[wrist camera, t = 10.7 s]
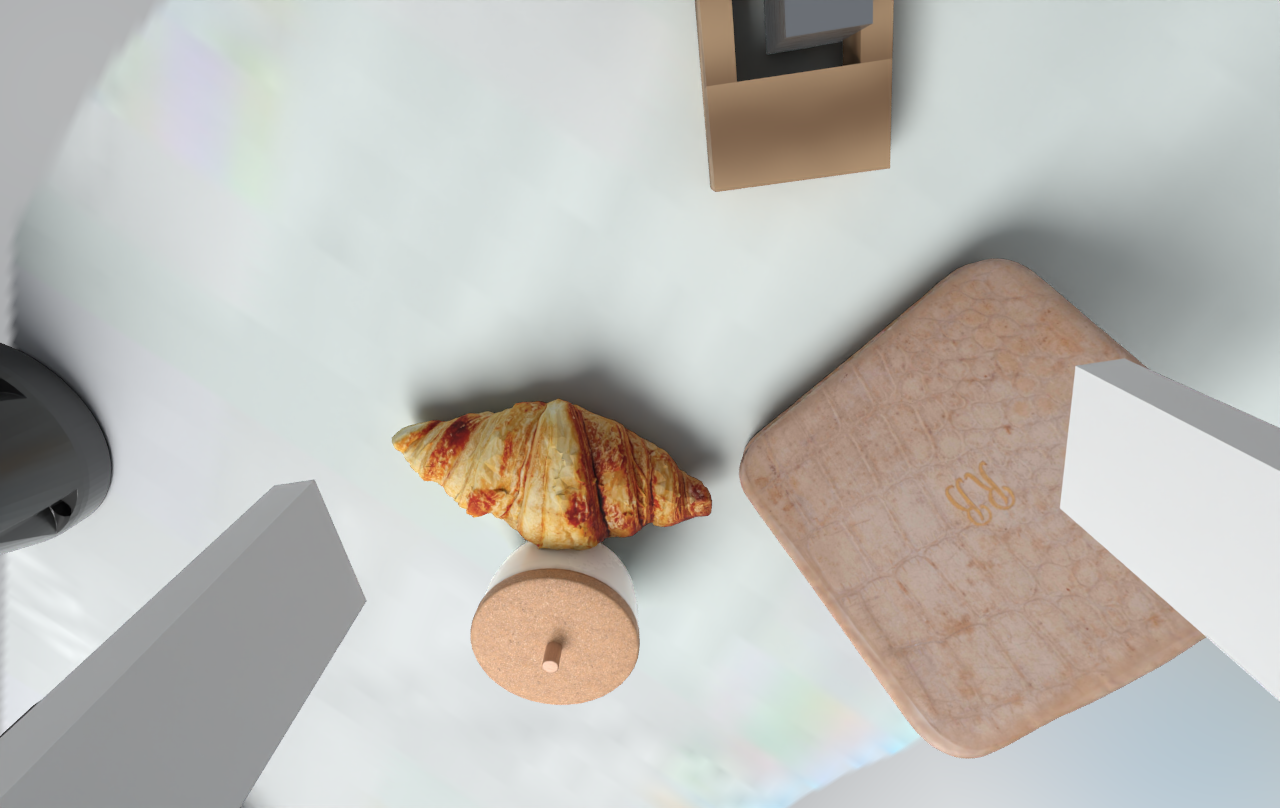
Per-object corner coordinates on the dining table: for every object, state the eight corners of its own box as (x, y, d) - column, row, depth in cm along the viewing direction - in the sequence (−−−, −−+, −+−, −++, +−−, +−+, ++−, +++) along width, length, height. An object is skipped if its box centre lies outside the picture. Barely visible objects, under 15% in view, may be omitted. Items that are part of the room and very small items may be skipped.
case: (978, 230, 36) (1192, 292, 21) (1154, 460, 41) (1423, 636, 27) (717, 445, 42) (745, 607, 28) (900, 621, 48) (1004, 835, 33)
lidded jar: (520, 486, 43) (486, 575, 35) (663, 532, 44) (664, 629, 36) (483, 597, 47) (444, 701, 39) (614, 636, 49) (605, 745, 40)
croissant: (421, 441, 46) (380, 539, 41) (397, 351, 38) (342, 460, 33) (700, 490, 47) (692, 593, 42) (733, 413, 39) (728, 528, 34)
